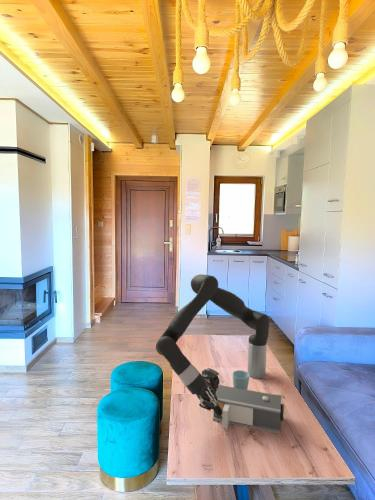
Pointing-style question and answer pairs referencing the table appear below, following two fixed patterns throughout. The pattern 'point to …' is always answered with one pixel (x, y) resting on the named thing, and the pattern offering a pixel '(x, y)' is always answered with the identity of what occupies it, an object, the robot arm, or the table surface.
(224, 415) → the side door
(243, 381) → the cup
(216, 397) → the robot arm
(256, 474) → the table surface
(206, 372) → the camera
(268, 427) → the grey box
